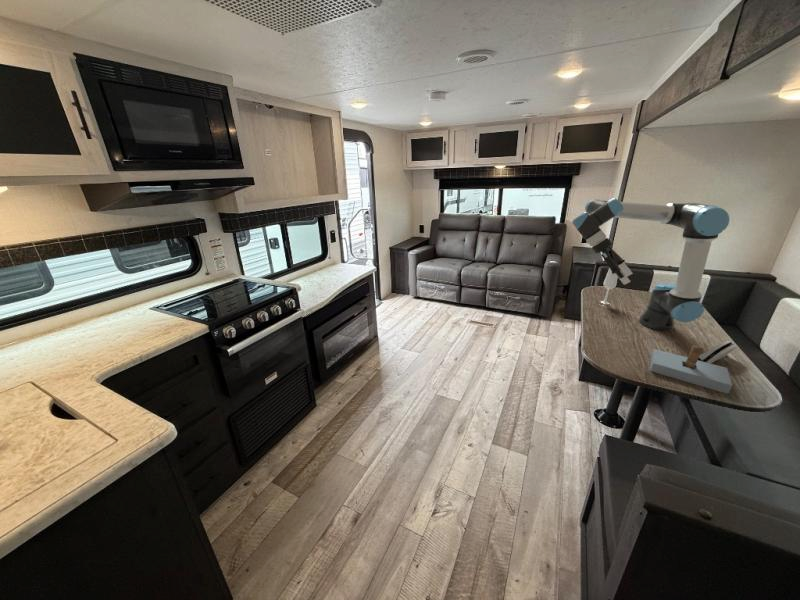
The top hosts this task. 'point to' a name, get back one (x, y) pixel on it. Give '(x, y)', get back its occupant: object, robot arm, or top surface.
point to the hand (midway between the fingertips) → (628, 279)
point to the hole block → (691, 371)
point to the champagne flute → (609, 283)
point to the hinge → (718, 352)
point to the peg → (693, 356)
